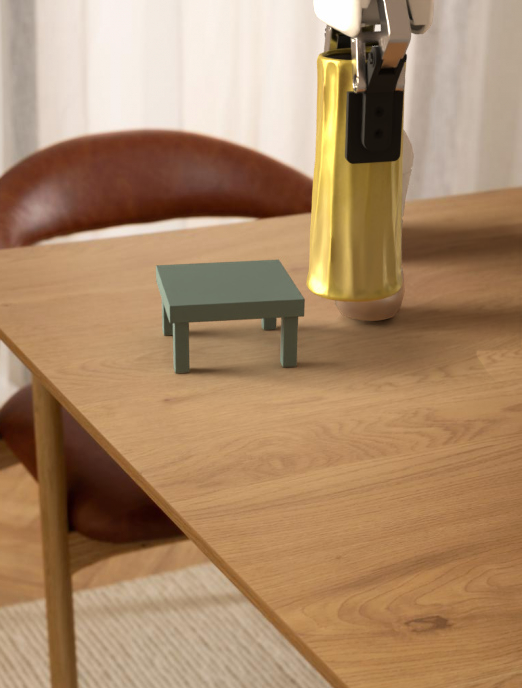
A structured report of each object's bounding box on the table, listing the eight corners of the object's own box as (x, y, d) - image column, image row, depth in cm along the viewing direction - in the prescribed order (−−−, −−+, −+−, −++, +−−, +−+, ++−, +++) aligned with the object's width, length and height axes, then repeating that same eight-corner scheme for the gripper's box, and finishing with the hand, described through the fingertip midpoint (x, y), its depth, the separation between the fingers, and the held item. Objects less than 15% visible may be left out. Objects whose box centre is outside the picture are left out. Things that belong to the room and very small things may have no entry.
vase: (365, 267, 80) (374, 43, 73) (421, 292, 75) (436, 54, 68) (288, 283, 77) (290, 52, 71) (341, 309, 72) (349, 65, 66)
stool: (277, 323, 108) (279, 259, 105) (302, 368, 98) (305, 298, 95) (157, 329, 107) (155, 265, 104) (170, 375, 97) (169, 305, 94)
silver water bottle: (337, 330, 106) (348, 98, 97) (327, 305, 112) (337, 85, 103) (408, 328, 106) (427, 97, 97) (395, 304, 112) (411, 84, 103)
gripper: (495, -203, 56) (465, 180, 65) (395, -190, 71) (381, 119, 80) (341, -198, 56) (331, 188, 64) (272, -186, 71) (271, 125, 79)
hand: (359, 146), depth 72 cm, fingers closed on vase, 5 cm apart
